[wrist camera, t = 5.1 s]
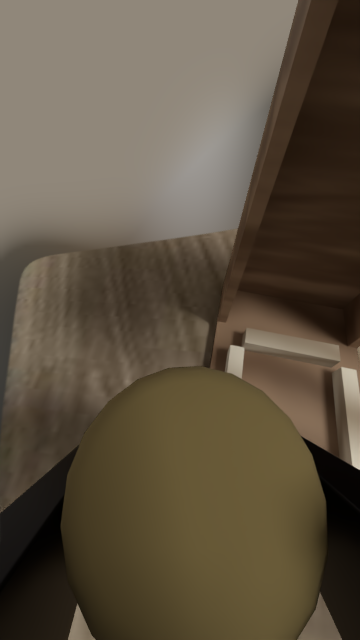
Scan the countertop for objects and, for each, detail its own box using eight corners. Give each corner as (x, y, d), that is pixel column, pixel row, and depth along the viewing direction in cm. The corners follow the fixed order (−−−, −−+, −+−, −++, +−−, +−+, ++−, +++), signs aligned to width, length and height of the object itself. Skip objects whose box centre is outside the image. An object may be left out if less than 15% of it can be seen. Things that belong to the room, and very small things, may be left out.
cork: (99, 522, 13) (-116, 645, 3) (153, 405, 16) (126, 291, 6) (217, 589, 11) (420, 1083, 2) (251, 449, 14) (398, 390, 5)
